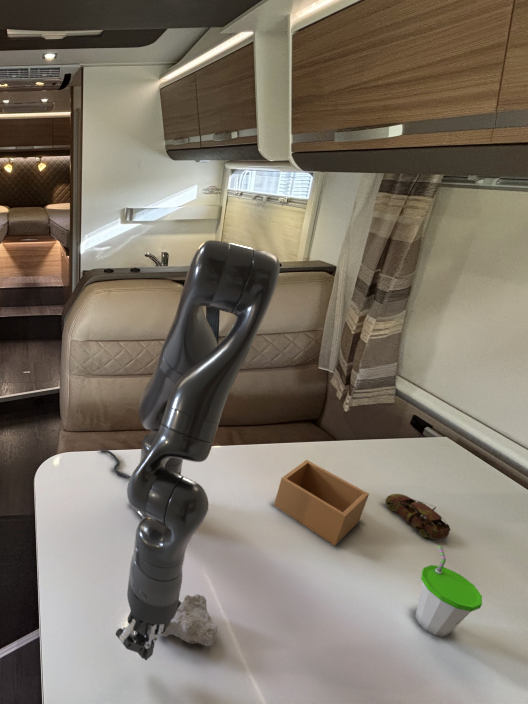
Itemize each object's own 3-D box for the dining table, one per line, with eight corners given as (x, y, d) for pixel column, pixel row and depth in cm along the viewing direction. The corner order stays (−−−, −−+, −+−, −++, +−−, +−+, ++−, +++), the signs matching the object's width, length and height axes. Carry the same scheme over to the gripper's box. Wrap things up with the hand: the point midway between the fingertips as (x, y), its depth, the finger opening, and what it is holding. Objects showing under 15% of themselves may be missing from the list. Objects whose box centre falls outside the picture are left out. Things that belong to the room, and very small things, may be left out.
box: (334, 545, 93) (345, 516, 90) (273, 505, 104) (281, 477, 101) (358, 522, 99) (369, 493, 96) (298, 486, 110) (306, 459, 107)
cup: (465, 656, 73) (501, 597, 67) (407, 631, 77) (436, 573, 71) (454, 616, 79) (486, 559, 74) (400, 595, 83) (427, 539, 77)
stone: (221, 650, 74) (226, 628, 72) (167, 660, 73) (171, 638, 71) (197, 604, 82) (201, 583, 79) (148, 612, 80) (151, 592, 78)
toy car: (454, 539, 95) (462, 523, 93) (428, 544, 94) (436, 528, 92) (401, 498, 106) (408, 483, 104) (378, 502, 104) (384, 487, 103)
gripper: (164, 542, 71) (154, 611, 77) (105, 583, 64) (99, 656, 70) (203, 577, 65) (188, 649, 71) (142, 627, 58) (132, 701, 65)
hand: (144, 652), depth 71 cm, fingers closed
